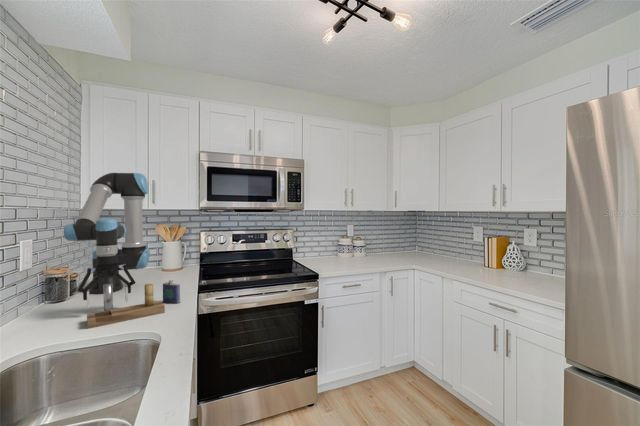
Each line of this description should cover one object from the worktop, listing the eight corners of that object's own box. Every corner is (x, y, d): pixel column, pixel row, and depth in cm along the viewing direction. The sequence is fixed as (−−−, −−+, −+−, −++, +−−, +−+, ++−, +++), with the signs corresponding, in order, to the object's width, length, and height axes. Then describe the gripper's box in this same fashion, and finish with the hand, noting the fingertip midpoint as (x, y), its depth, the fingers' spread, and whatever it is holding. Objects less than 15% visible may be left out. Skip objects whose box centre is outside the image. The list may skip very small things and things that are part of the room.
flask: (181, 302, 141) (180, 280, 140) (176, 304, 138) (176, 281, 138) (165, 300, 143) (165, 278, 143) (160, 302, 140) (160, 280, 140)
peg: (103, 311, 128) (103, 284, 128) (112, 310, 131) (112, 283, 130) (104, 313, 126) (103, 285, 126) (113, 312, 128) (112, 284, 128)
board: (87, 321, 117) (86, 291, 117) (160, 307, 134) (159, 280, 134) (87, 328, 110) (86, 296, 110) (164, 312, 127) (164, 284, 127)
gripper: (69, 259, 117) (70, 312, 117) (142, 253, 133) (142, 300, 133) (69, 257, 123) (70, 308, 123) (139, 251, 139) (140, 296, 139)
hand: (108, 304), depth 128 cm, fingers open, 13 cm apart
